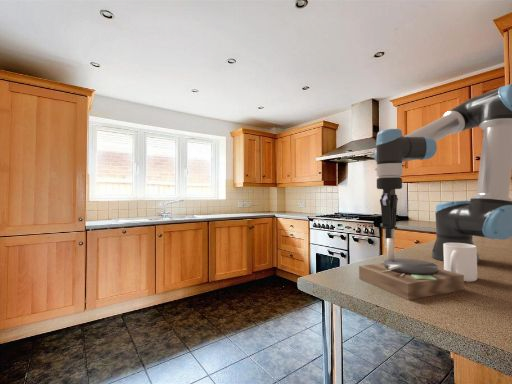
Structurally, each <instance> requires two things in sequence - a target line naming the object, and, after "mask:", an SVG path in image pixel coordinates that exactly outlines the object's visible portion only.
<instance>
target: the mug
mask: <svg viewBox="0 0 512 384" xmlns="http://www.w3.org/2000/svg"><path fill="white" fill-rule="evenodd" d="M477 247H478V246H477V245H475V244H474V245H471V244H464V243H444V244H443V249H444V261H443V270H446V271H450V272H454V273H457V274H461V275H464V282H465V281H466V282H475V281H477V280H478V262H477V253H478V251H477V250H478V249H477Z"/></svg>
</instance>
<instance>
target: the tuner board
mask: <svg viewBox="0 0 512 384" xmlns="http://www.w3.org/2000/svg"><path fill="white" fill-rule="evenodd" d="M358 273H359V274H358V276H359V277H358V278H359V279H360V280H361V281H363V282H366V283H369V284H370V285H373V286H375V287H377V288H379V289H381V290H384V291H387V292H389V293H392V294H394V295H396V296H398V297H400V298H403V299H404V300H405V299H406V301H407V300H414V299H421V298H425V297H430V296H437V295H443V294H448V293H455V292H459V291H464V290H465V281H464V275H461V274H457V273H454V272H450V271H446V270H444V269H442V268H439V267H438V272H437V273H435V274H429V275H417V274H407V273H401V272H396V271H393V270H390V269H388V268H386V267H385V266H384V262H381V263H374V264H365V265H359V266H358Z"/></svg>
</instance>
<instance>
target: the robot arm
mask: <svg viewBox="0 0 512 384" xmlns="http://www.w3.org/2000/svg"><path fill="white" fill-rule="evenodd" d="M478 127H479V128H480V129H481V130H482V131H483V135H482V144H481V150H480V151H481V153H480V159H479V169H478V175H477V176H478V177H477V185H476V186H477V187H476V193H475V194H474V195H473V196H472V197H470V200H453V201H444V202H443V201H442V202H439V203H437V204H436V205H435V213H434V214H435V232H436V233H435V234H436V235H435V236H436V239H435V242H434V245H433V247H432V250H431V257H432V258H433V259H436V260H438V261H443V262H444V249H443V244H444V243H464V244H471V245H475V243H474V241H473V240H474V239H473V236H474V237H479V238H486V239H491V240H508V239H511V238H512V198H511V197H510V196H509V195H510V188H511V180H512V179H511V178H512V83H510V84H506V85H502V86H500V87H498V88H496V89H492V90H490V91H488V92H485V93H483V94H480V95H477V96H474V97H471V98H469V99H468V100H465V101H464V102H462V103H461V104H459V105H457V106H455V107H454V108H452V109H450V110H448V111H446V112H444V114H442V116H441V117H440V118H437V119H436V120H434V121H431V122H430V123H427V124H426V125H424V126H422V127H419V128H418V129H416V130H414V131H412V132H410V133H407V134H406V135H404V136H403V131H402V129H400V128H386V129H382V130H380V131H378V132H377V134H376V143H375V148H376V149H375V151H374V154H373V158H374V160H375V162H376V167H375V168H374V170H375V171H376V176H377V177H378V178H377V179H376V189H377V190H382V194H381V198H380V199H379V203H380V212H381V224H382V225H381V229H383V230H384V249H387V238H393V239H394V240H395V229H398V226H397V212H398V210H397V209H398V201H399V199H398V195H397V193H396V190H401V189H403V178H402V177H401V176H403V163H404V162H410V161H418V160H420V161H423V160H429V159H432V158H433V157H434V156H435V155H436V153H437V149H438V148H437V147H438V146H437V141H439V140H442V139H443V138H446V137H447V136H449V135H451V134H452V135H455V134H458V133H461V132H463V131H466V130H471V129H474V128H478ZM479 262H480V256H479V254H478V252H477V263H479Z"/></svg>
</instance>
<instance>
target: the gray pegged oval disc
mask: <svg viewBox="0 0 512 384" xmlns="http://www.w3.org/2000/svg"><path fill="white" fill-rule="evenodd" d="M383 263H384V266H385V267H386V268H388V269H390V270H393V271H396V272H401V273H407V274H417V275H429V274H435V273H437V272H438V268H439V266H438V264H435V263H433V262H430V261H427V260H421V259H417V258H416V259H414V258H405V257H404V258H403V257H399V258H398V257H397V258H396V257H395V238H394V239H393V238H387V248H386V259H385V260H384V261H383Z"/></svg>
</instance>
